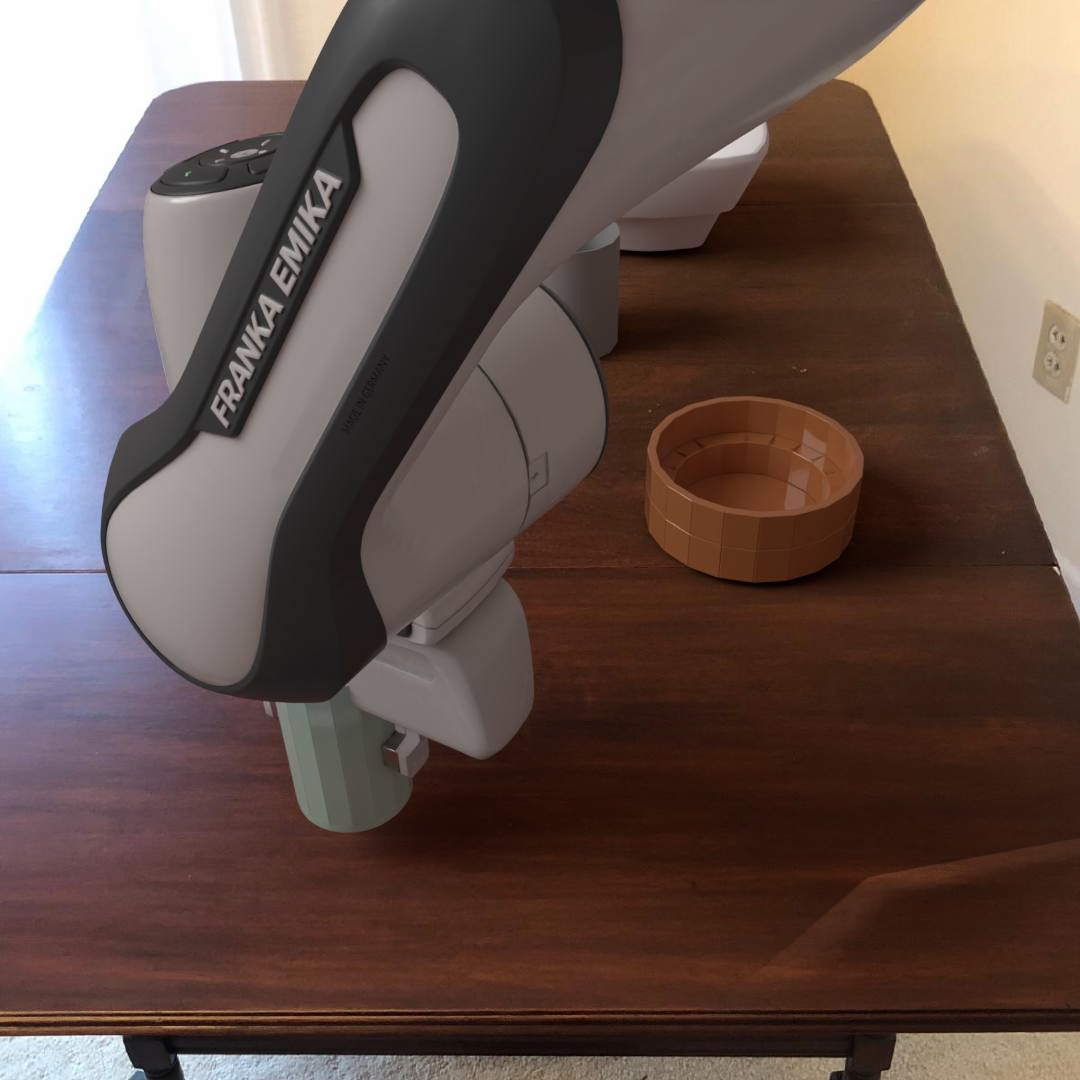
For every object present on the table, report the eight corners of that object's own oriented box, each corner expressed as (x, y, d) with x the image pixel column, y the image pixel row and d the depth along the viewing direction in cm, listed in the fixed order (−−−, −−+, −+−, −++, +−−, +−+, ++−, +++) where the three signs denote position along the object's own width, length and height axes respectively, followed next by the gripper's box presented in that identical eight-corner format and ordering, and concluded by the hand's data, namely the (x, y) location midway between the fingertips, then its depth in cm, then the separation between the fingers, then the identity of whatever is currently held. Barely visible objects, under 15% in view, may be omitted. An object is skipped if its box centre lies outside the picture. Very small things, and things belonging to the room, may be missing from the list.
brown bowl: (893, 529, 85) (908, 457, 81) (754, 619, 77) (763, 545, 74) (740, 443, 93) (747, 375, 89) (603, 517, 86) (604, 446, 82)
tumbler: (436, 790, 63) (419, 647, 57) (338, 853, 60) (309, 709, 54) (371, 727, 67) (348, 586, 60) (275, 783, 64) (241, 641, 57)
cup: (635, 347, 105) (639, 238, 99) (552, 373, 102) (551, 262, 96) (583, 308, 111) (584, 202, 105) (504, 331, 108) (500, 224, 101)
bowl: (770, 283, 114) (784, 162, 107) (533, 284, 114) (531, 164, 107) (744, 190, 131) (754, 80, 124) (538, 191, 132) (536, 82, 125)
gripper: (80, 487, 55) (148, 706, 63) (466, 632, 46) (485, 862, 55) (178, 420, 59) (230, 634, 67) (548, 542, 51) (554, 768, 59)
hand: (347, 737), depth 61 cm, fingers closed on tumbler, 6 cm apart
